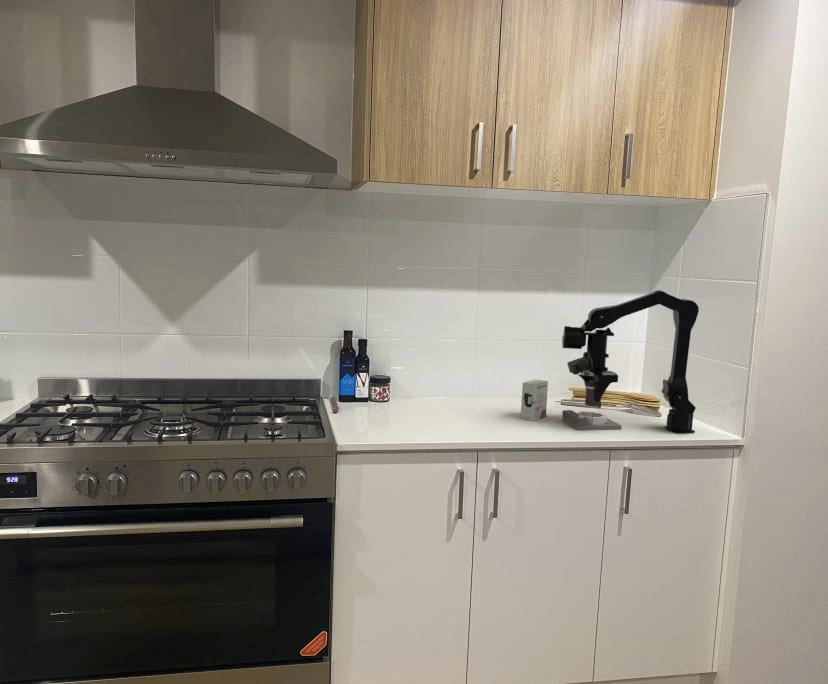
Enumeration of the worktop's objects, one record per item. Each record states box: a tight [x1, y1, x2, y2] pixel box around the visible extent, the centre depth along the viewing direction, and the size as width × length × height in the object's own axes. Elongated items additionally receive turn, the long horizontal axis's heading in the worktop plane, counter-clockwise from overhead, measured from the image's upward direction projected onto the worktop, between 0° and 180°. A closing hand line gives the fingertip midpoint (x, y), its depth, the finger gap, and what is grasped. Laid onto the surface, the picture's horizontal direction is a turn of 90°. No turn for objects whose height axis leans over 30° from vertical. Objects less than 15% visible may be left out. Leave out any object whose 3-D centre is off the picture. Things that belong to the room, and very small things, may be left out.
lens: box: [584, 381, 602, 408], centre depth 205 cm, size 5×5×7 cm
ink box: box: [520, 378, 549, 422], centre depth 213 cm, size 9×5×12 cm, turn 141°
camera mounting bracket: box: [561, 409, 623, 431], centre depth 206 cm, size 14×12×4 cm
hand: (593, 400), depth 206 cm, fingers closed on lens, 5 cm apart
